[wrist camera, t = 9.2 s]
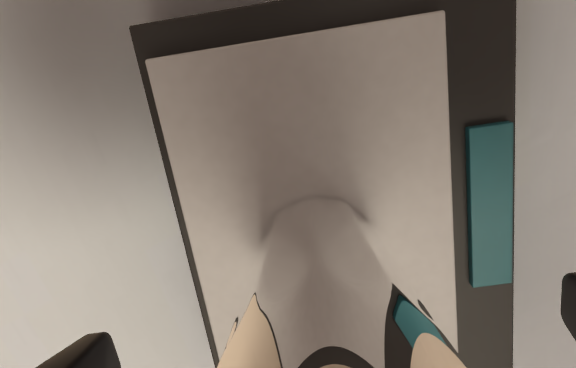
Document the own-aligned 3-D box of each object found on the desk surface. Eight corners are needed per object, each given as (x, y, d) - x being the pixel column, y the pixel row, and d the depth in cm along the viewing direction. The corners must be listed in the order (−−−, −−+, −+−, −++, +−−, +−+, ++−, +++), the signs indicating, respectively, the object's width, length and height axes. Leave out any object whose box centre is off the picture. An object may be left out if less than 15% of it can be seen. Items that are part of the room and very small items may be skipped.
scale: (476, -24, 13) (530, -46, 10) (482, 334, 16) (522, 393, 14) (156, 30, 13) (118, 24, 10) (235, 363, 17) (223, 427, 14)
